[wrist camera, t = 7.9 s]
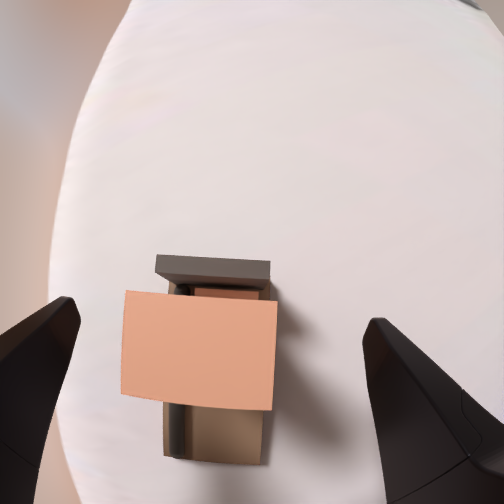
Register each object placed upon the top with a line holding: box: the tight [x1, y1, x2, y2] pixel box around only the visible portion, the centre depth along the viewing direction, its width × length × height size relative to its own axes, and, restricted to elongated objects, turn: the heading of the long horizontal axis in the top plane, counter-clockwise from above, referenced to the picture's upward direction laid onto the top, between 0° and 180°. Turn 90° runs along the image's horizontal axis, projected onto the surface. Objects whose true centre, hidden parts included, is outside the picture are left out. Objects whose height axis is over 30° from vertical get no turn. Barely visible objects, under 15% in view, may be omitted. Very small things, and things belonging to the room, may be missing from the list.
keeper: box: [121, 288, 278, 410], centre depth 9 cm, size 4×3×9 cm
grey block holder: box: [155, 254, 270, 465], centre depth 12 cm, size 10×5×4 cm, turn 177°
